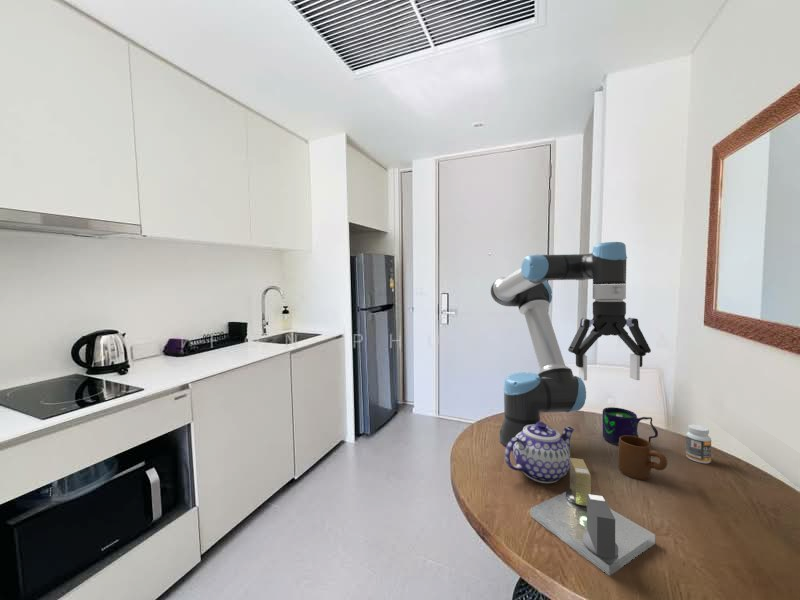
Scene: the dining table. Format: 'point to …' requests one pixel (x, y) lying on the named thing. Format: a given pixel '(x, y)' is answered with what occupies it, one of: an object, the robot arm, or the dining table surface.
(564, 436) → the teapot
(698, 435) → the pill bottle
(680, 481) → the dining table surface
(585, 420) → the dining table surface
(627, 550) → the plate
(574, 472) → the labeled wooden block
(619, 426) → the mug
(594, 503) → the dark grey block
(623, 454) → the mug
